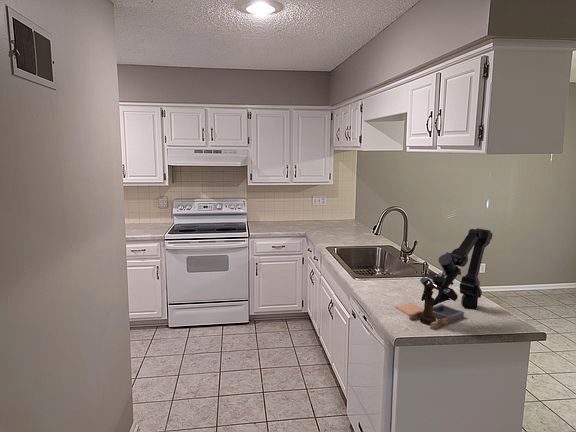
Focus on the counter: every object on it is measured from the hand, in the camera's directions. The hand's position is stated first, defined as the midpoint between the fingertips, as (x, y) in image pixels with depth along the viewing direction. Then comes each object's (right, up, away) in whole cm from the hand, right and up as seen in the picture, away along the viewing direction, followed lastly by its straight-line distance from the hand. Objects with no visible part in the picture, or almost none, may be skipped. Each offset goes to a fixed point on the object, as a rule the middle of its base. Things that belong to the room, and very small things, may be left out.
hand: (426, 302), depth 185 cm
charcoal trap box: (+11, -8, +9) cm, 17 cm away
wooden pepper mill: (+1, -9, +2) cm, 9 cm away
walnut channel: (+2, -9, +2) cm, 9 cm away
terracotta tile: (-2, -7, +15) cm, 17 cm away
